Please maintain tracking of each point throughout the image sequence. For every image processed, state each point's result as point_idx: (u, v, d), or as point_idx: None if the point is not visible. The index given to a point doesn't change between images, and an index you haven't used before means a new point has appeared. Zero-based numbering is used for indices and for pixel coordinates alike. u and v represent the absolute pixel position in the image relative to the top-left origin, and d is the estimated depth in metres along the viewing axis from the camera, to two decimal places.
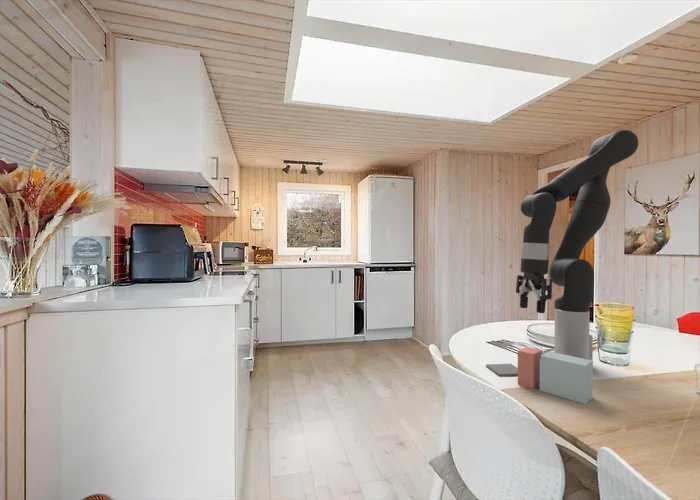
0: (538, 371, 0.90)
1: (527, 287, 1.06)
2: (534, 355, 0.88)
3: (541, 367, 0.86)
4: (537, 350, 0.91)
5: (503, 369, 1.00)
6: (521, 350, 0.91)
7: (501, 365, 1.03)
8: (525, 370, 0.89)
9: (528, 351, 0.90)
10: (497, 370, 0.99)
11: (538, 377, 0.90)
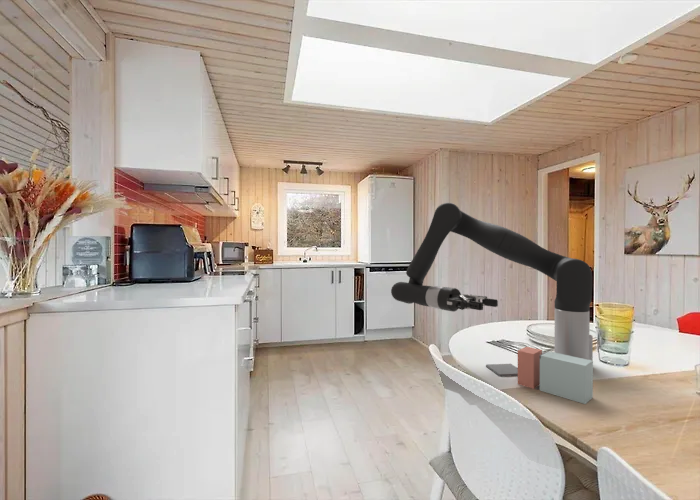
0: (538, 371, 0.90)
1: None
2: (534, 355, 0.88)
3: (541, 367, 0.86)
4: (537, 350, 0.91)
5: (503, 369, 1.00)
6: (521, 350, 0.91)
7: (501, 365, 1.03)
8: (525, 370, 0.89)
9: (528, 351, 0.90)
10: (497, 370, 0.99)
11: (538, 377, 0.90)
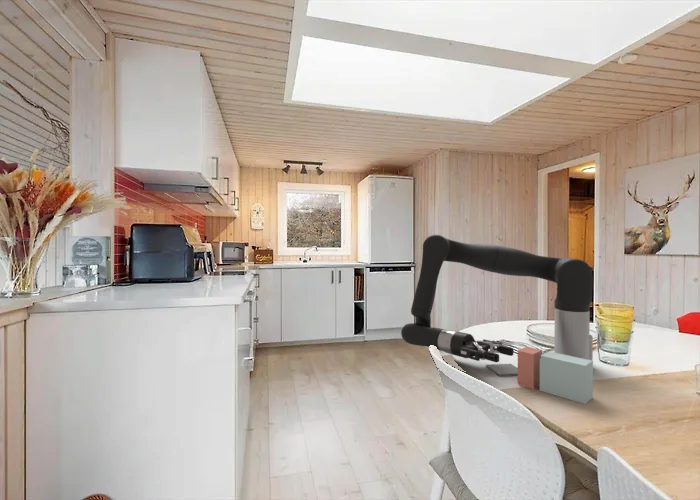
0: (538, 371, 0.90)
1: None
2: (534, 355, 0.88)
3: (541, 367, 0.86)
4: (537, 350, 0.91)
5: (503, 369, 1.00)
6: (521, 350, 0.91)
7: (501, 365, 1.03)
8: (525, 370, 0.89)
9: (528, 351, 0.90)
10: (497, 370, 0.99)
11: (538, 377, 0.90)
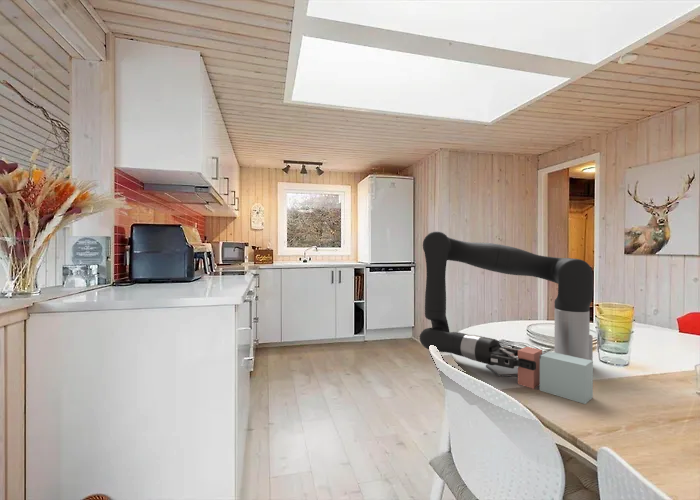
0: (538, 371, 0.90)
1: None
2: (534, 355, 0.88)
3: (541, 367, 0.86)
4: (537, 350, 0.91)
5: (503, 369, 1.00)
6: (521, 350, 0.91)
7: None
8: (525, 370, 0.89)
9: (528, 351, 0.90)
10: (497, 370, 0.99)
11: (538, 377, 0.90)
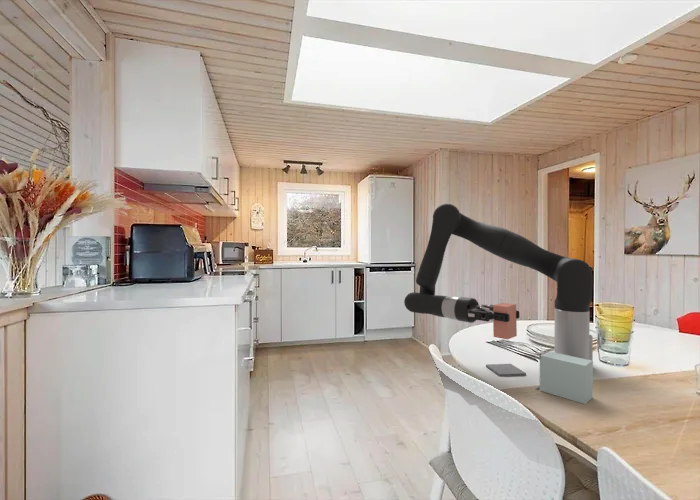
0: (512, 324, 0.95)
1: None
2: (507, 308, 0.93)
3: (541, 367, 0.86)
4: (511, 304, 0.96)
5: (503, 369, 1.00)
6: (496, 304, 0.96)
7: (501, 365, 1.03)
8: (500, 323, 0.95)
9: (503, 305, 0.95)
10: (497, 370, 0.99)
11: (512, 329, 0.95)
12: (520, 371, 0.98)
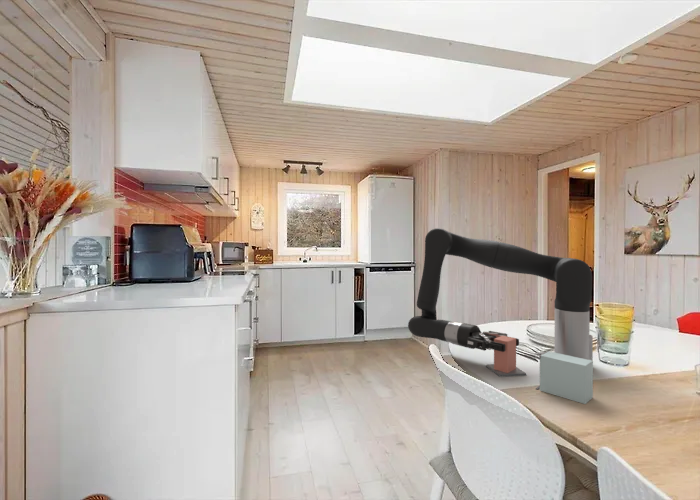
0: (512, 357, 0.99)
1: None
2: (508, 343, 0.97)
3: (541, 367, 0.86)
4: (511, 338, 1.00)
5: None
6: (497, 338, 1.00)
7: None
8: (500, 357, 0.99)
9: (503, 339, 0.99)
10: (497, 370, 0.99)
11: (512, 363, 0.99)
12: (520, 371, 0.98)
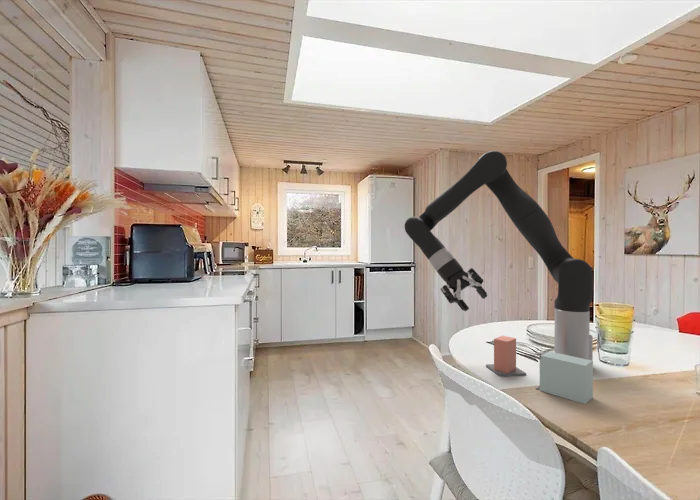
0: (512, 357, 0.99)
1: None
2: (508, 343, 0.97)
3: (541, 367, 0.86)
4: (511, 338, 1.00)
5: None
6: (497, 338, 1.00)
7: None
8: (500, 357, 0.99)
9: (503, 339, 0.99)
10: (497, 370, 0.99)
11: (512, 363, 0.99)
12: (520, 371, 0.98)
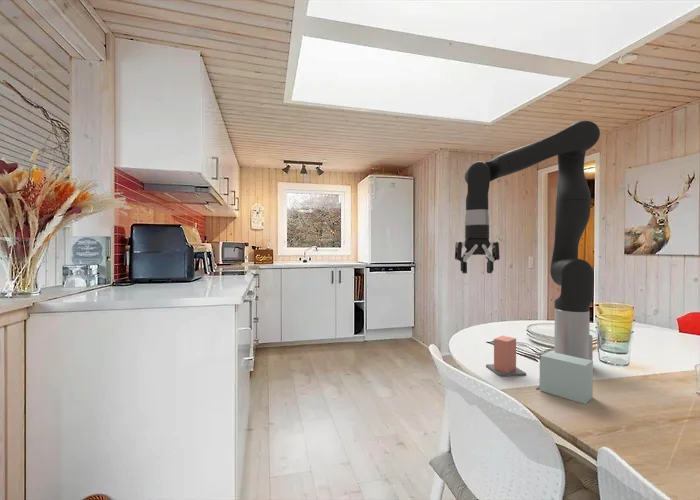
0: (512, 357, 0.99)
1: None
2: (508, 343, 0.97)
3: (541, 367, 0.86)
4: (511, 338, 1.00)
5: None
6: (497, 338, 1.00)
7: None
8: (500, 357, 0.99)
9: (503, 339, 0.99)
10: (497, 370, 0.99)
11: (512, 363, 0.99)
12: (520, 371, 0.98)
